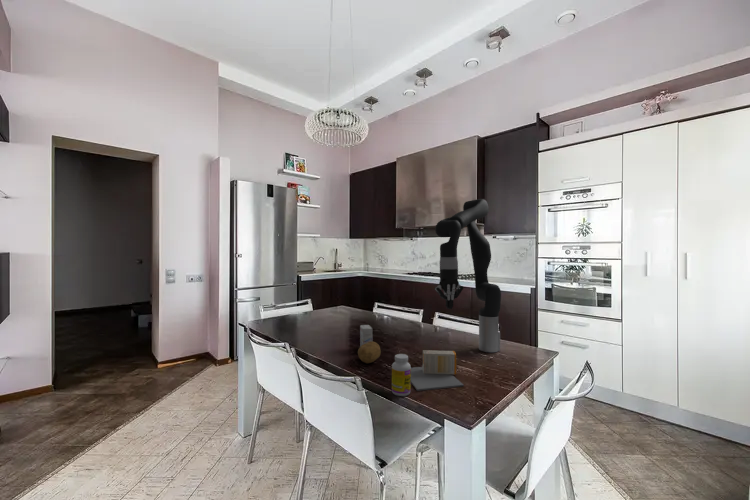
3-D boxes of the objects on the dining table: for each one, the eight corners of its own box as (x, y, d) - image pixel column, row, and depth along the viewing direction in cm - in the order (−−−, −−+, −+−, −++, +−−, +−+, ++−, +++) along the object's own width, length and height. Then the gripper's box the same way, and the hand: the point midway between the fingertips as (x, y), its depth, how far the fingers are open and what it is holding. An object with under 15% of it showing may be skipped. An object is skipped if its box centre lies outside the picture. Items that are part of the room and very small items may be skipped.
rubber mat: (440, 366, 137) (440, 365, 137) (463, 386, 118) (463, 384, 118) (400, 369, 133) (400, 368, 133) (417, 390, 114) (417, 389, 114)
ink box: (373, 353, 155) (373, 328, 155) (362, 353, 154) (362, 329, 153) (369, 347, 163) (369, 324, 163) (359, 348, 162) (359, 324, 162)
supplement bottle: (405, 398, 108) (405, 360, 108) (388, 394, 111) (388, 357, 111) (413, 391, 113) (413, 355, 113) (397, 386, 117) (397, 351, 117)
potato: (352, 365, 137) (352, 347, 137) (364, 355, 151) (364, 338, 151) (373, 369, 134) (373, 350, 134) (384, 358, 147) (384, 341, 147)
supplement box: (454, 350, 131) (422, 349, 132) (456, 354, 126) (423, 353, 127) (454, 370, 131) (422, 369, 132) (456, 375, 127) (423, 373, 127)
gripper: (458, 266, 140) (459, 306, 140) (430, 267, 137) (431, 308, 137) (467, 267, 133) (468, 309, 133) (438, 269, 130) (439, 311, 130)
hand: (449, 308), depth 135 cm, fingers closed
